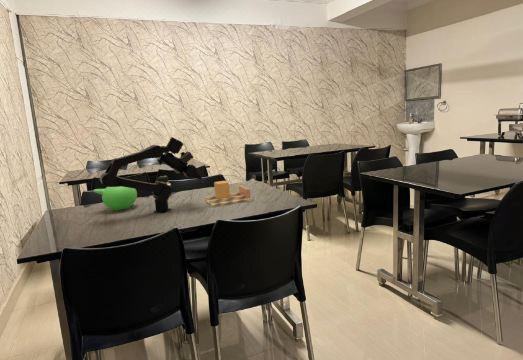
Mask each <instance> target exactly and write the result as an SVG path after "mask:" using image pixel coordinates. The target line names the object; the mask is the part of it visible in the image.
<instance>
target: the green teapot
mask: <svg viewBox="0 0 523 360" xmlns="http://www.w3.org/2000/svg"><path fill="white" fill-rule="evenodd" d="M93 192H94V193H96V194H99V195H101V200H102V202H103V204H104V206H105V207H106V208H108V209H110V210H116V211H120V210H124V209H128V208H130V207H131V206H132V205H134V204H135V202H136V201H137V198H138V192H137V189H134V188H128V187H105V188H96V189H93Z"/></svg>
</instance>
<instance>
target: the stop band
mask: <svg viewBox="0 0 523 360" xmlns="http://www.w3.org/2000/svg"><path fill="white" fill-rule="evenodd" d="M238 192H240V193H241V196H242V195H246V199H250V195H251V189H250V188H249V187H246V186H245V185H242V184H241V185H238Z"/></svg>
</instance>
